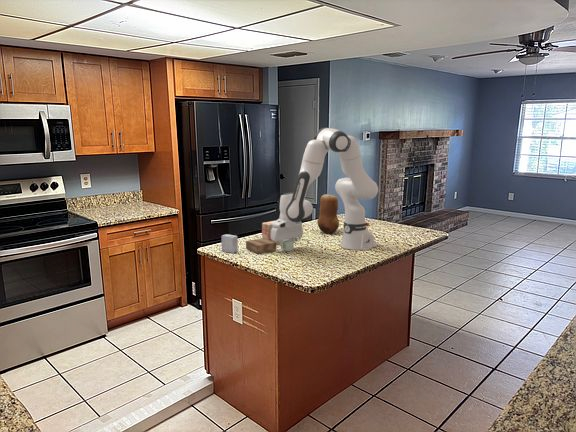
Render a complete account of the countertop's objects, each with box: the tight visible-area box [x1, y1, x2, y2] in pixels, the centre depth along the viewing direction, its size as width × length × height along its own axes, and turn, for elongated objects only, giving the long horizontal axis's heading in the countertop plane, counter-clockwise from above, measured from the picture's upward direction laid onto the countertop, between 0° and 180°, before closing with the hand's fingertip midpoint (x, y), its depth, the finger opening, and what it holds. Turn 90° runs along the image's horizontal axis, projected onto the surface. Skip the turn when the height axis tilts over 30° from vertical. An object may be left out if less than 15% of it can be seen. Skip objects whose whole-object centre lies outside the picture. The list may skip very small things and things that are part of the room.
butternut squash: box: [317, 193, 340, 235], centre depth 270 cm, size 14×13×25 cm
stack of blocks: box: [261, 220, 292, 245], centre depth 248 cm, size 21×6×12 cm, turn 129°
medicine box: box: [220, 234, 239, 254], centre depth 227 cm, size 8×4×9 cm, turn 59°
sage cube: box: [280, 239, 295, 252], centre depth 232 cm, size 5×5×5 cm
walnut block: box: [245, 237, 277, 255], centre depth 230 cm, size 12×12×5 cm
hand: (287, 246), depth 232 cm, fingers closed on sage cube, 5 cm apart
